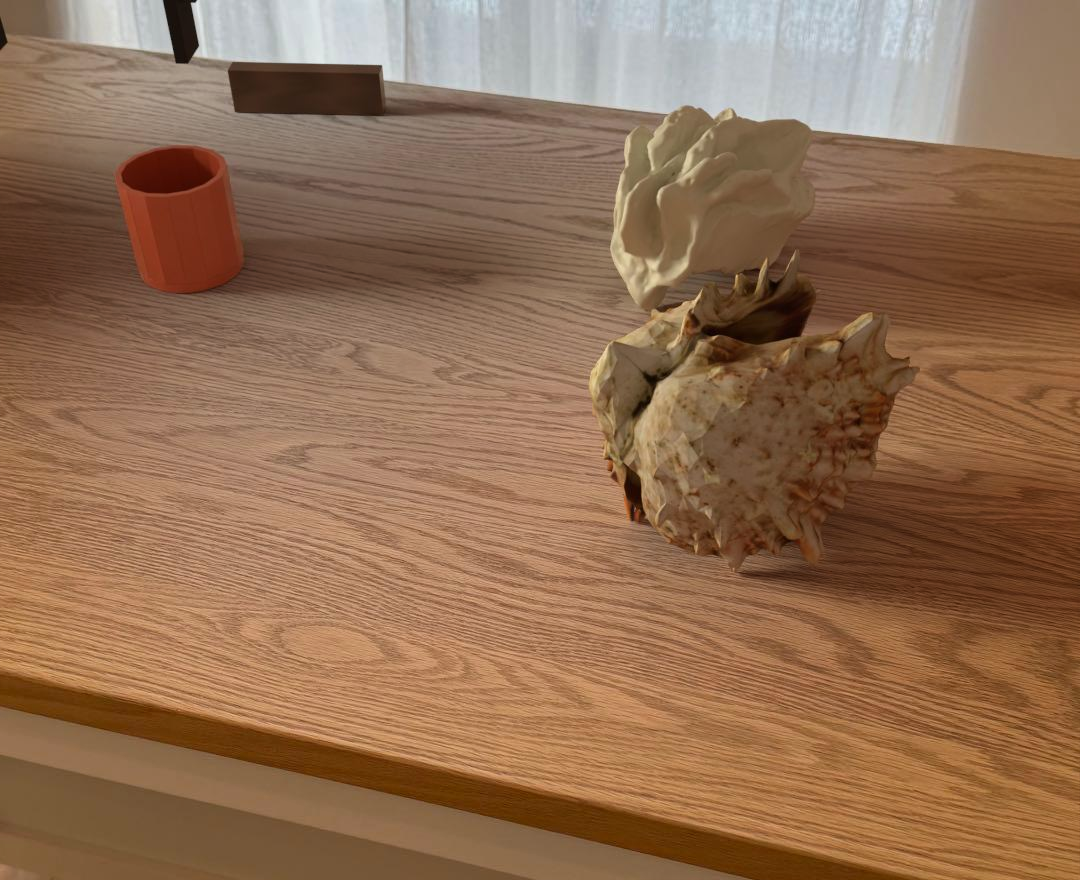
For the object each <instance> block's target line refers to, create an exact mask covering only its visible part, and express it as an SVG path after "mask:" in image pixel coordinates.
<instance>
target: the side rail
mask: <svg viewBox="0 0 1080 880" xmlns="http://www.w3.org/2000/svg"><path fill="white" fill-rule="evenodd" d="M227 76H228V82H229V89H230V92H231V93H230V94H231V98H232V104H233V110H234V113H253V114H254V113H255V114H258V113H259V114H293V115H294V114H297V115H301V114H302V115H341V116H344V115H346V116H384V114H385V111H386V108H387V102H386V93H385V92H386V91H385V81H384V80H385V79H384V69H383V64H358V63H357V64H356V63H355V64H354V63H353V64H351V63H347V64H346V63H345V64H344V63H306V62H305V63H304V62H262V61H261V62H258V61H254V62H253V61H232V62H231V63H230V65H229V67H228V69H227Z"/></svg>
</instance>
